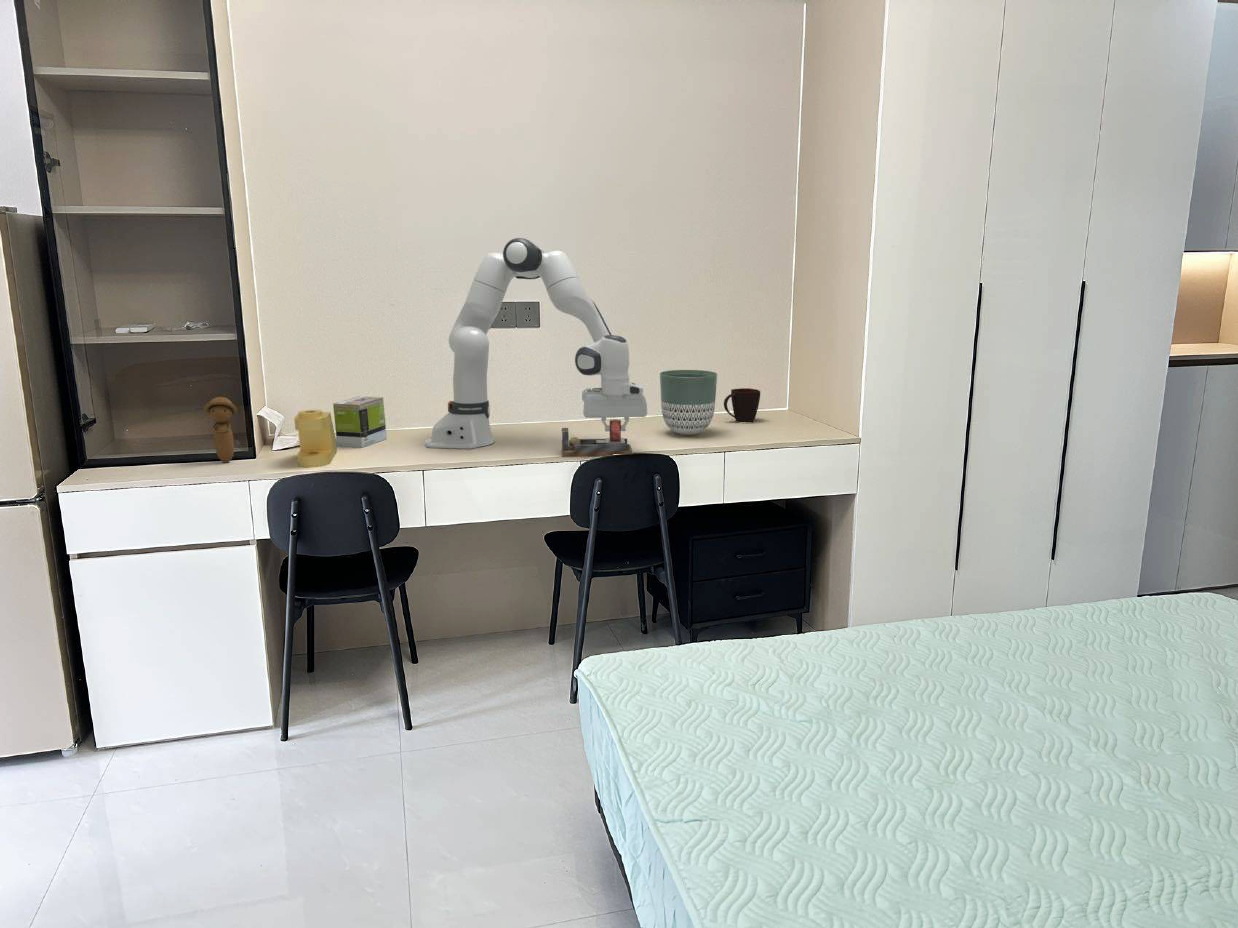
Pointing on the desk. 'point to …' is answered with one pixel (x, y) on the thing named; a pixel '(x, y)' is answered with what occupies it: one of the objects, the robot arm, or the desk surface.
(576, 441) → the walnut ball
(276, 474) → the desk surface
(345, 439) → the tea box
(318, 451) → the clamp
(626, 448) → the press bed
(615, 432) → the ram
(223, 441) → the figurine
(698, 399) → the planter
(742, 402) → the cup
